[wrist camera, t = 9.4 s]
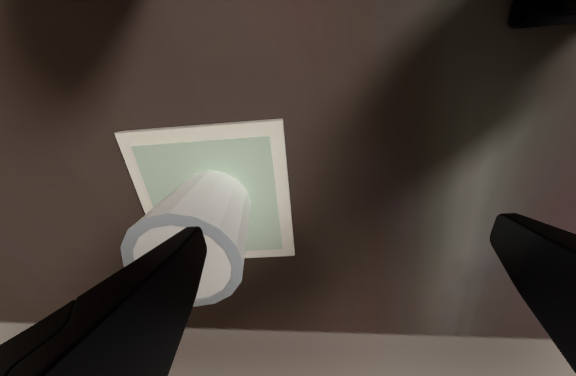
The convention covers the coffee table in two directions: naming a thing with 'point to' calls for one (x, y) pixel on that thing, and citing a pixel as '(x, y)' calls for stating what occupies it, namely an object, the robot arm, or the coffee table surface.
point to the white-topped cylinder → (210, 218)
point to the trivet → (222, 158)
